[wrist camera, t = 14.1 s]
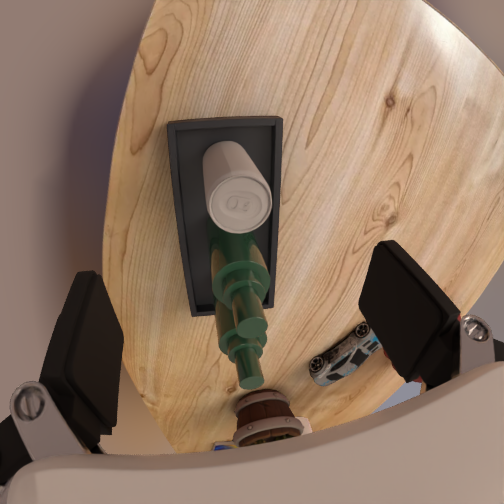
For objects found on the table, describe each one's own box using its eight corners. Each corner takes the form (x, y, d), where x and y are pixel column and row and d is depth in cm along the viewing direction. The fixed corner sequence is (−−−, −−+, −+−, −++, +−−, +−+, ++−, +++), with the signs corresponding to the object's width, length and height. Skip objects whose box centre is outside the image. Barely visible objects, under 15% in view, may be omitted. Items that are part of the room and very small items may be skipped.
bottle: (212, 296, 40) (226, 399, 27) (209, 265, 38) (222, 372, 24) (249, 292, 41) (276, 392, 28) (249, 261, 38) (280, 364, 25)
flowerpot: (305, 386, 61) (332, 464, 44) (265, 416, 66) (283, 486, 50) (252, 377, 54) (274, 469, 38) (215, 409, 60) (227, 489, 44)
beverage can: (239, 185, 32) (262, 240, 23) (197, 176, 31) (199, 229, 21) (252, 145, 30) (283, 182, 20) (208, 134, 29) (216, 166, 19)
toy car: (386, 327, 54) (397, 345, 50) (322, 374, 59) (329, 392, 55) (371, 313, 50) (383, 332, 46) (302, 365, 55) (310, 385, 51)
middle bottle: (207, 246, 36) (220, 353, 23) (204, 208, 33) (214, 307, 20) (249, 243, 37) (283, 345, 24) (249, 204, 34) (288, 298, 21)
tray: (191, 306, 42) (191, 317, 40) (168, 121, 28) (166, 124, 26) (270, 298, 43) (273, 307, 42) (277, 115, 29) (283, 118, 28)
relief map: (247, 461, 89) (248, 466, 87) (206, 463, 85) (207, 468, 83) (264, 438, 76) (266, 444, 75) (214, 441, 72) (215, 447, 70)
